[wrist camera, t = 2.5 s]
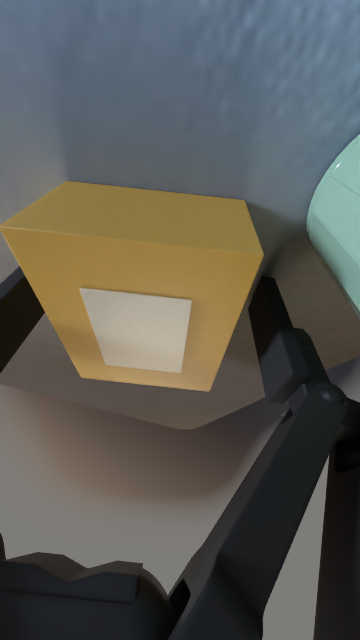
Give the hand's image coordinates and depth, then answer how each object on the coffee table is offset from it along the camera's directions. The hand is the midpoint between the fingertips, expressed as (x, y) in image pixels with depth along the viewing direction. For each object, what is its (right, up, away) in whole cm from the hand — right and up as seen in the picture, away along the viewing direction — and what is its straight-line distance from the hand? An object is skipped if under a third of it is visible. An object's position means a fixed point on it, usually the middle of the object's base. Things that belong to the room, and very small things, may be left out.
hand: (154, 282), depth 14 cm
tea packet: (0, 0, 0) cm, 0 cm away
